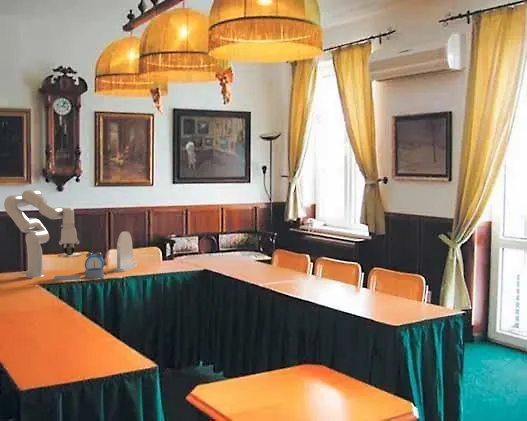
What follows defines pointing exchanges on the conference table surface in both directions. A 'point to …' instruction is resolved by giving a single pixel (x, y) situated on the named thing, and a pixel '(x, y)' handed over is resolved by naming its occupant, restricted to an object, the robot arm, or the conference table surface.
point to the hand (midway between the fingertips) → (69, 253)
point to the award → (124, 253)
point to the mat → (67, 277)
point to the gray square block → (94, 273)
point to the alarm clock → (94, 260)
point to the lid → (69, 253)
